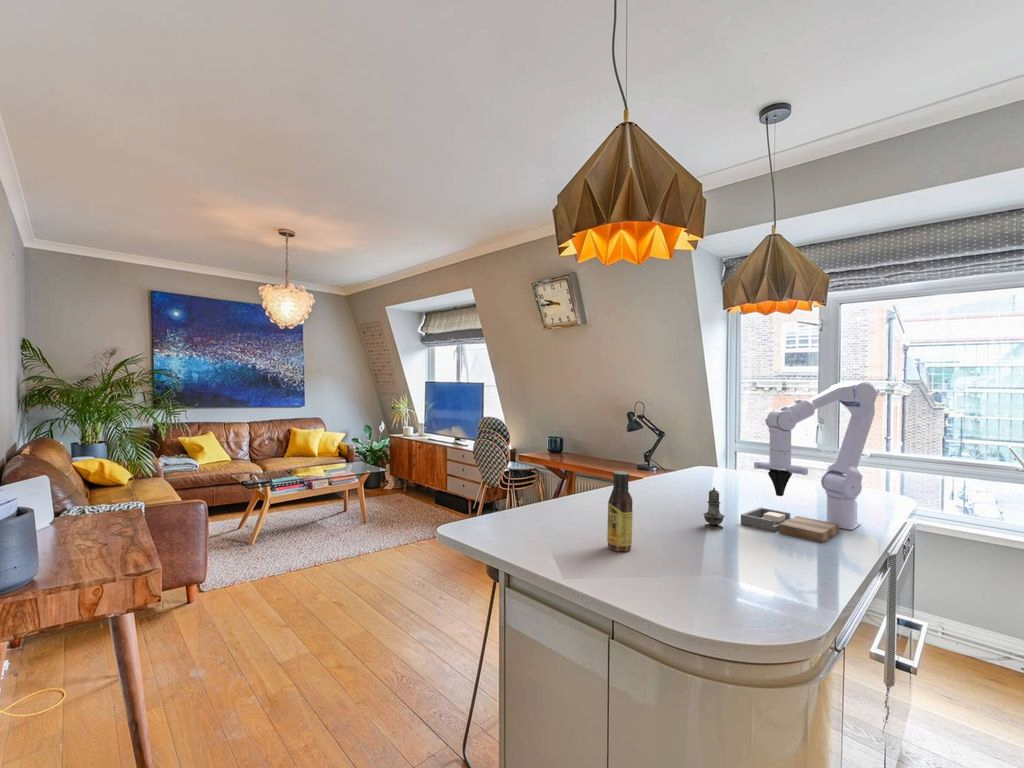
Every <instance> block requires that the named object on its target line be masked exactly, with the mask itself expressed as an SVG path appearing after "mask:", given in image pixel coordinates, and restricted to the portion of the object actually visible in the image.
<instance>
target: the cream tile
mask: <svg viewBox="0 0 1024 768" xmlns="http://www.w3.org/2000/svg"><path fill="white" fill-rule="evenodd" d="M763 519H768V520H773V521H776V522H781V521H783V520H785V514H780V513H775V512H767V513H765V514H763Z"/></svg>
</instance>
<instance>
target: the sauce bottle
mask: <svg viewBox="0 0 1024 768" xmlns="http://www.w3.org/2000/svg"><path fill="white" fill-rule="evenodd" d="M612 477H613V478H612V479H613V488H612V491H611V493H610V497H609V499H608V503H607V506H608V507H607V535H606V536H607V538H606V539H607V548H608V549H609V550H612V551H613V550H614V551H613V552H619V551H621V553H623V552H622V551H625V552H629V551H631V549H632V544H633V515H634V514H633V513H634V512H633V511H634V510H633V497H632V495H631V494H630V491H629V488H630V487H629V480H630V472H628V471H623V470H619V471H613V473H612ZM628 550H629V551H628Z"/></svg>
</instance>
